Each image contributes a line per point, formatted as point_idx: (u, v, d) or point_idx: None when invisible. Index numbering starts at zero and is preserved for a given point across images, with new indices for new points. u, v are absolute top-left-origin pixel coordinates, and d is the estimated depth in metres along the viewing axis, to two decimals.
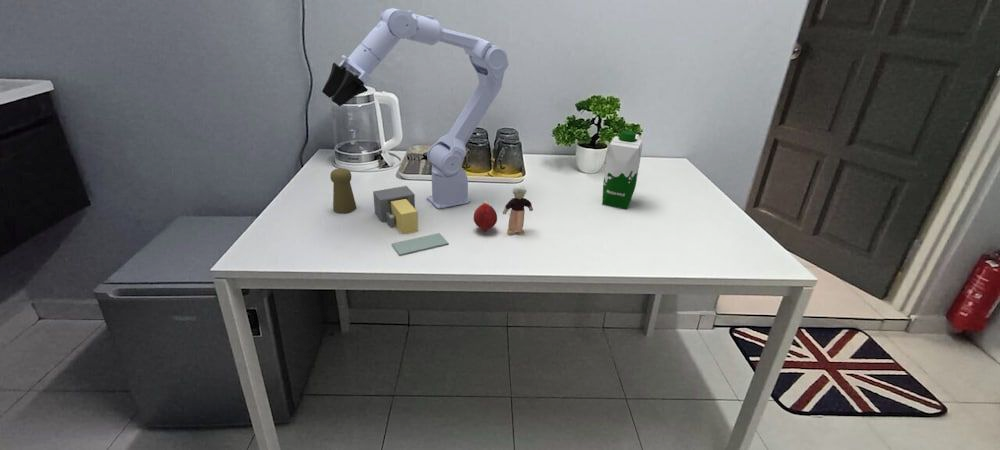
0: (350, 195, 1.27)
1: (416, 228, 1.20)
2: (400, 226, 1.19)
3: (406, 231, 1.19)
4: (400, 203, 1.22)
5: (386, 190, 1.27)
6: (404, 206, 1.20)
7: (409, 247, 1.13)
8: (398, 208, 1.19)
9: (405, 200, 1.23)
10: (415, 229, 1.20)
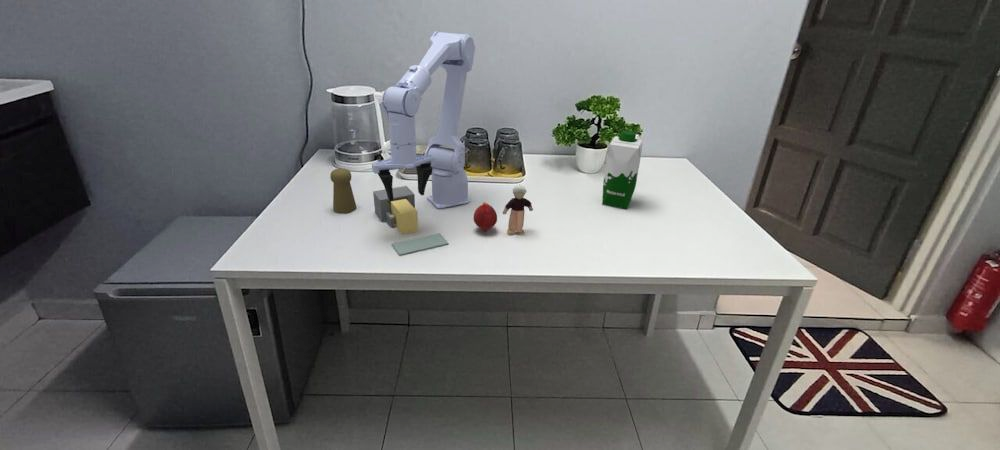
0: (350, 195, 1.27)
1: (416, 228, 1.20)
2: (400, 226, 1.19)
3: (406, 231, 1.19)
4: (400, 203, 1.22)
5: None
6: (404, 206, 1.20)
7: (409, 247, 1.13)
8: (398, 208, 1.19)
9: (405, 200, 1.23)
10: (415, 229, 1.20)
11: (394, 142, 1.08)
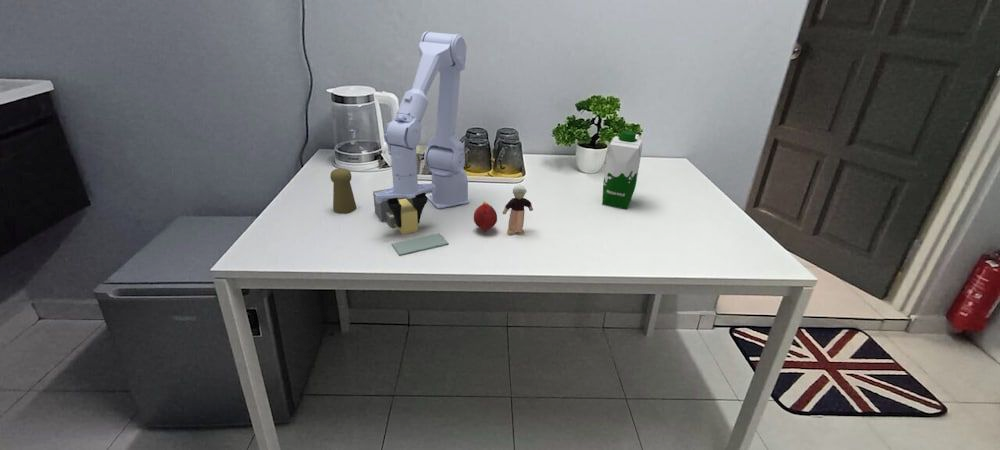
0: (350, 195, 1.27)
1: (416, 228, 1.20)
2: None
3: (406, 231, 1.19)
4: (400, 203, 1.22)
5: None
6: (404, 206, 1.20)
7: (409, 247, 1.13)
8: None
9: (405, 200, 1.23)
10: (415, 229, 1.20)
11: (396, 173, 1.12)
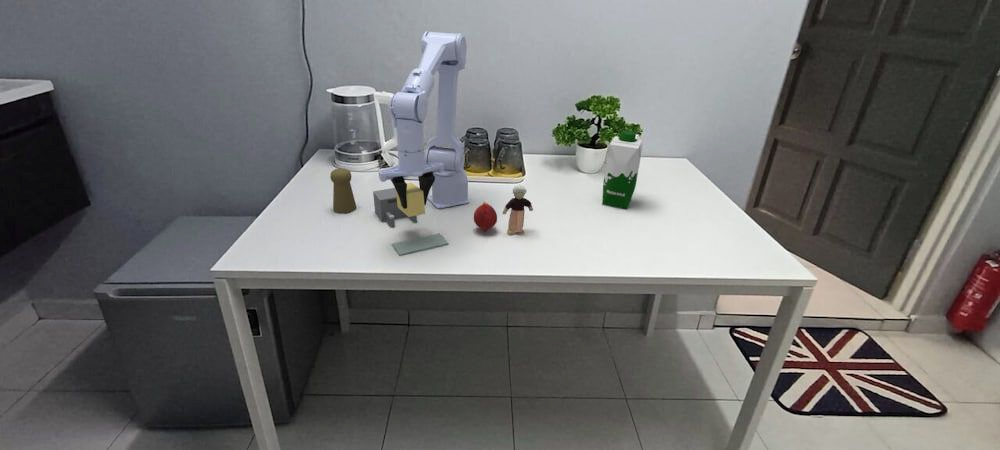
0: (350, 195, 1.27)
1: (423, 210, 1.12)
2: (406, 208, 1.11)
3: (412, 213, 1.11)
4: None
5: (386, 190, 1.27)
6: (409, 188, 1.13)
7: (409, 247, 1.13)
8: None
9: (411, 183, 1.17)
10: (422, 211, 1.12)
11: (404, 150, 1.04)
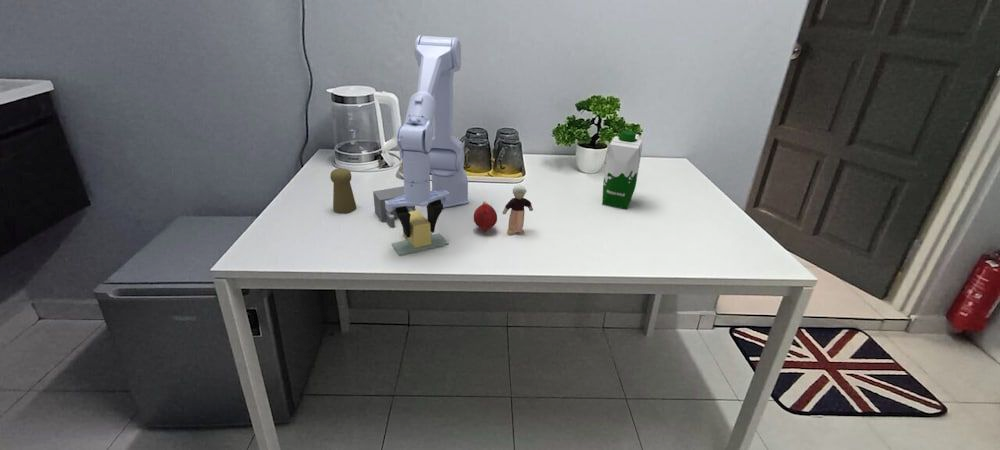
0: (350, 195, 1.27)
1: (429, 241, 1.13)
2: (413, 239, 1.12)
3: (419, 244, 1.12)
4: (412, 215, 1.15)
5: (386, 190, 1.27)
6: (416, 218, 1.14)
7: (409, 247, 1.13)
8: (410, 220, 1.12)
9: (417, 211, 1.17)
10: (428, 242, 1.13)
11: (411, 180, 1.05)
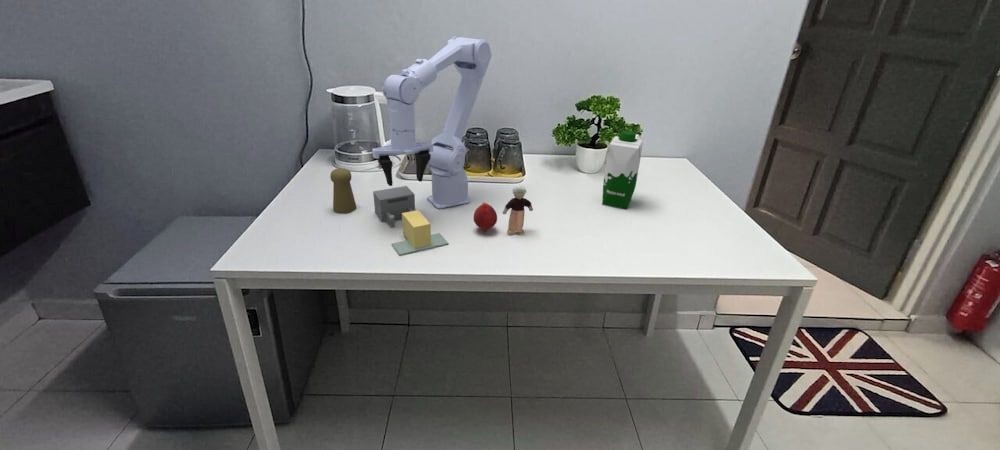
0: (350, 195, 1.27)
1: (429, 241, 1.13)
2: (413, 240, 1.12)
3: (419, 245, 1.12)
4: (412, 215, 1.15)
5: (386, 190, 1.27)
6: (416, 218, 1.14)
7: (409, 247, 1.13)
8: (410, 221, 1.12)
9: (417, 211, 1.17)
10: (428, 242, 1.13)
11: (392, 128, 1.13)
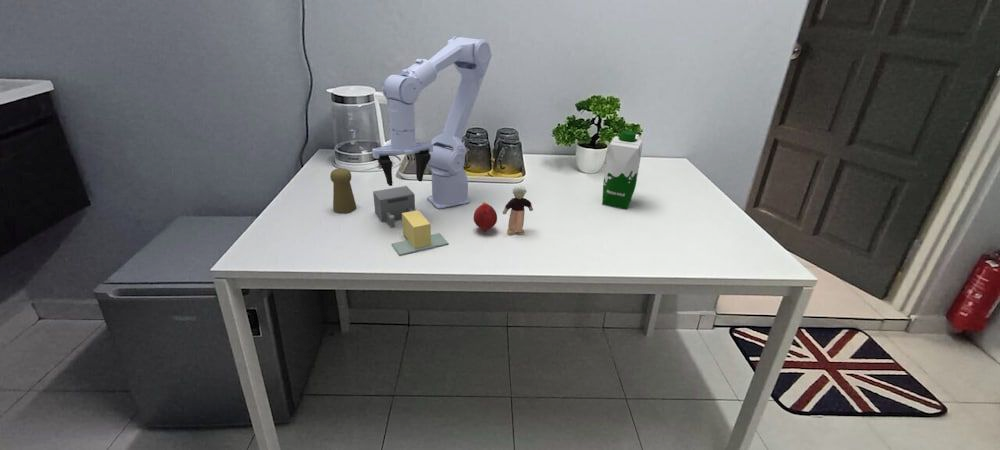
0: (350, 195, 1.27)
1: (429, 241, 1.13)
2: (413, 240, 1.12)
3: (419, 245, 1.12)
4: (412, 215, 1.15)
5: (386, 190, 1.27)
6: (416, 218, 1.14)
7: (409, 247, 1.13)
8: (410, 221, 1.12)
9: (417, 211, 1.17)
10: (428, 242, 1.13)
11: (392, 128, 1.13)
